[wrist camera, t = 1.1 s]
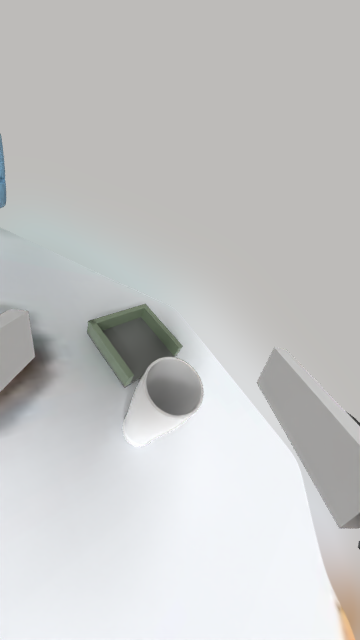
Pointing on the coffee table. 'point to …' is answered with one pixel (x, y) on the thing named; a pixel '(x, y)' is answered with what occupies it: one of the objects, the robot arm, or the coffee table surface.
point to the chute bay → (132, 341)
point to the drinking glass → (162, 400)
